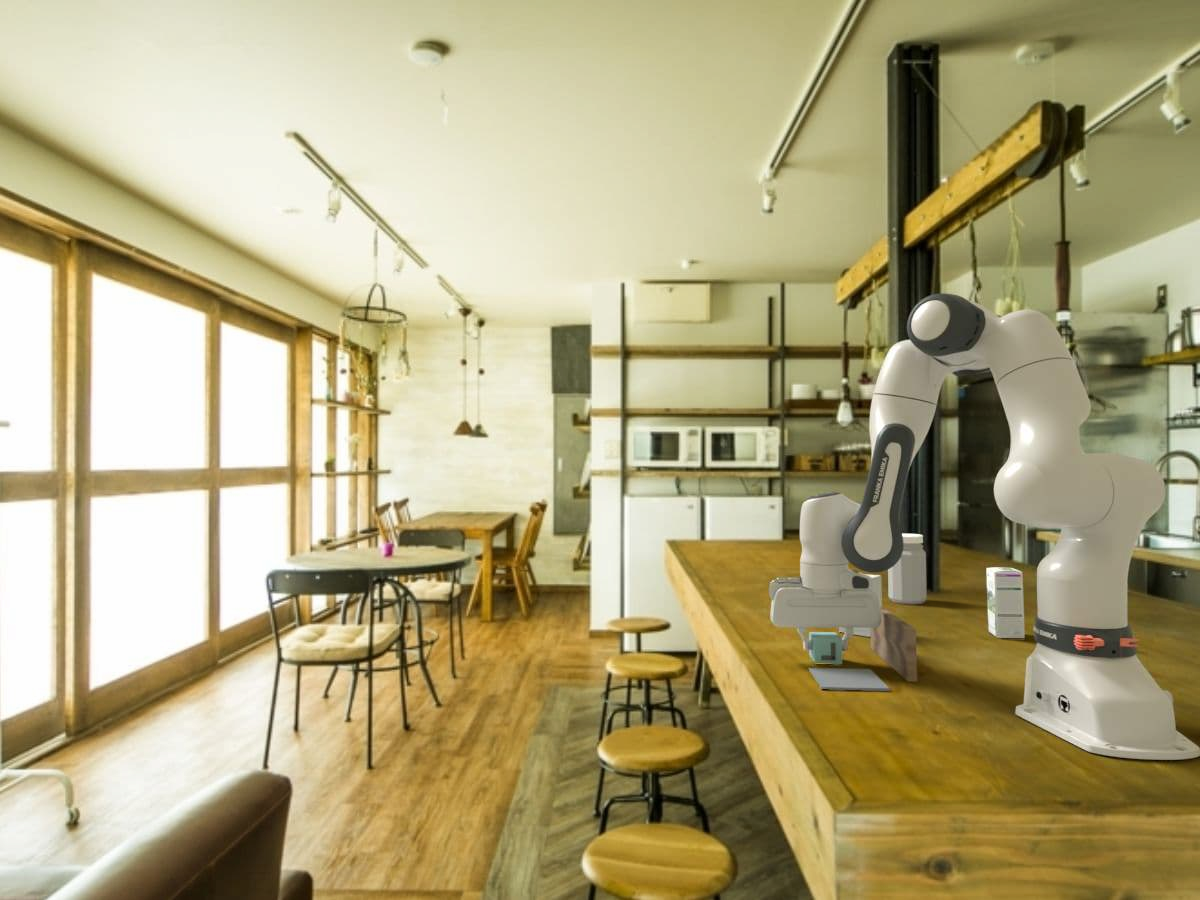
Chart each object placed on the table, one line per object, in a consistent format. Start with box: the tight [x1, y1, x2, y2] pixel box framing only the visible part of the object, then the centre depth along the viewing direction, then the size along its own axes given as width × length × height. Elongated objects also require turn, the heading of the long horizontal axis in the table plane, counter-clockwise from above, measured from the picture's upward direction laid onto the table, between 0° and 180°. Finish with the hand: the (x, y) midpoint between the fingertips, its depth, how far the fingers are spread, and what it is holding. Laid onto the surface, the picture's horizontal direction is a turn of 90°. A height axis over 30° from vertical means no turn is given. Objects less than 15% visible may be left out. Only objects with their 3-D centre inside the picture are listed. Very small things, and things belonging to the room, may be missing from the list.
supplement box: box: [838, 573, 883, 638], centre depth 158 cm, size 7×7×13 cm
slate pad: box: [807, 667, 891, 692], centre depth 123 cm, size 11×11×1 cm
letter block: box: [808, 631, 843, 665], centre depth 135 cm, size 5×5×5 cm
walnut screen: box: [870, 606, 918, 683], centre depth 133 cm, size 22×2×9 cm, turn 175°
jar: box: [887, 533, 928, 605], centre depth 192 cm, size 10×10×18 cm
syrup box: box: [985, 566, 1026, 639], centre depth 154 cm, size 6×6×14 cm
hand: (825, 650), depth 135 cm, fingers closed on letter block, 5 cm apart
